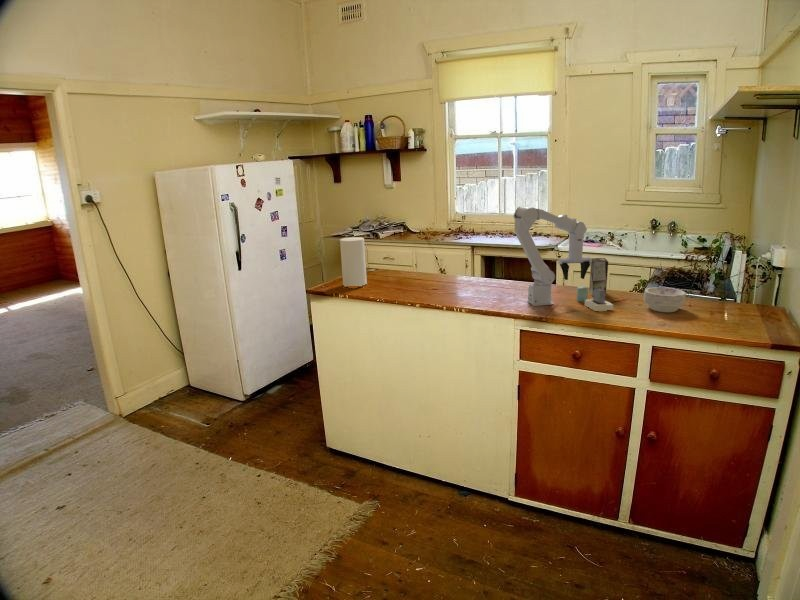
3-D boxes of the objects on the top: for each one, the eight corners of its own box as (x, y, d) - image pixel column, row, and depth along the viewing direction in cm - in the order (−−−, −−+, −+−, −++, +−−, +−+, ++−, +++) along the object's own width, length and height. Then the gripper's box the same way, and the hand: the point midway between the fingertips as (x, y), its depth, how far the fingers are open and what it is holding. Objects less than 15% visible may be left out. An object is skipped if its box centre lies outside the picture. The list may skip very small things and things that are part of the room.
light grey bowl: (677, 304, 222) (679, 286, 220) (689, 315, 207) (691, 296, 205) (639, 304, 225) (640, 286, 223) (647, 314, 211) (649, 295, 208)
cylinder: (368, 287, 273) (365, 239, 266) (344, 289, 270) (341, 241, 263) (364, 282, 284) (361, 236, 278) (341, 284, 282) (338, 238, 275)
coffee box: (606, 296, 238) (608, 261, 234) (591, 296, 240) (593, 261, 235) (603, 291, 247) (605, 257, 243) (588, 291, 248) (590, 257, 244)
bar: (598, 309, 219) (599, 291, 217) (592, 306, 224) (594, 288, 222) (604, 309, 220) (605, 290, 218) (598, 306, 224) (599, 287, 222)
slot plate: (595, 311, 217) (596, 305, 216) (584, 305, 226) (584, 299, 226) (612, 310, 218) (613, 304, 217) (600, 303, 227) (601, 298, 226)
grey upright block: (579, 302, 231) (580, 289, 229) (574, 299, 235) (575, 286, 234) (589, 301, 231) (589, 288, 230) (584, 299, 236) (585, 286, 234)
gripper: (563, 251, 225) (562, 282, 228) (595, 249, 226) (594, 279, 230) (556, 248, 232) (555, 278, 235) (588, 246, 233) (586, 276, 237)
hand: (574, 278), depth 233 cm, fingers open, 7 cm apart
